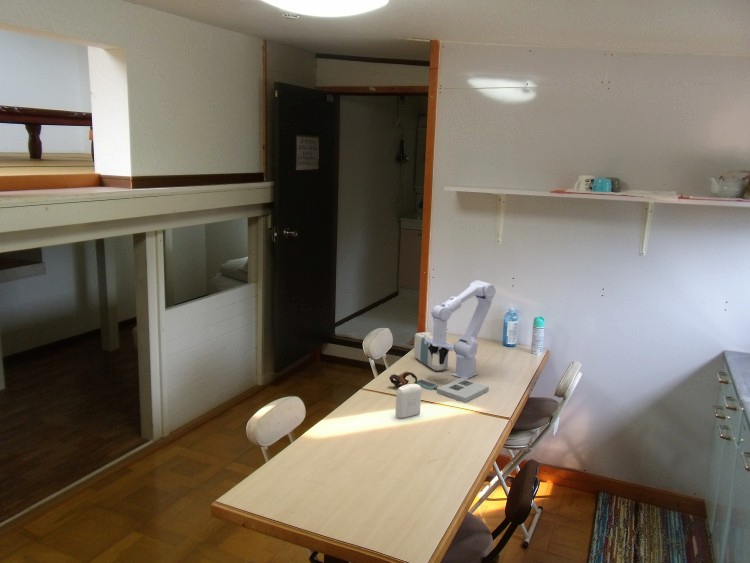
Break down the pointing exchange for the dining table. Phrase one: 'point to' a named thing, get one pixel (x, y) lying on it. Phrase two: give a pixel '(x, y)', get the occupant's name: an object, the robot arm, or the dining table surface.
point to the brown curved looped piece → (402, 378)
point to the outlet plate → (462, 390)
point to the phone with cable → (427, 384)
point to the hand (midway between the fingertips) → (438, 362)
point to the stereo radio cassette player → (426, 350)
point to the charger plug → (436, 361)
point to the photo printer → (408, 400)
